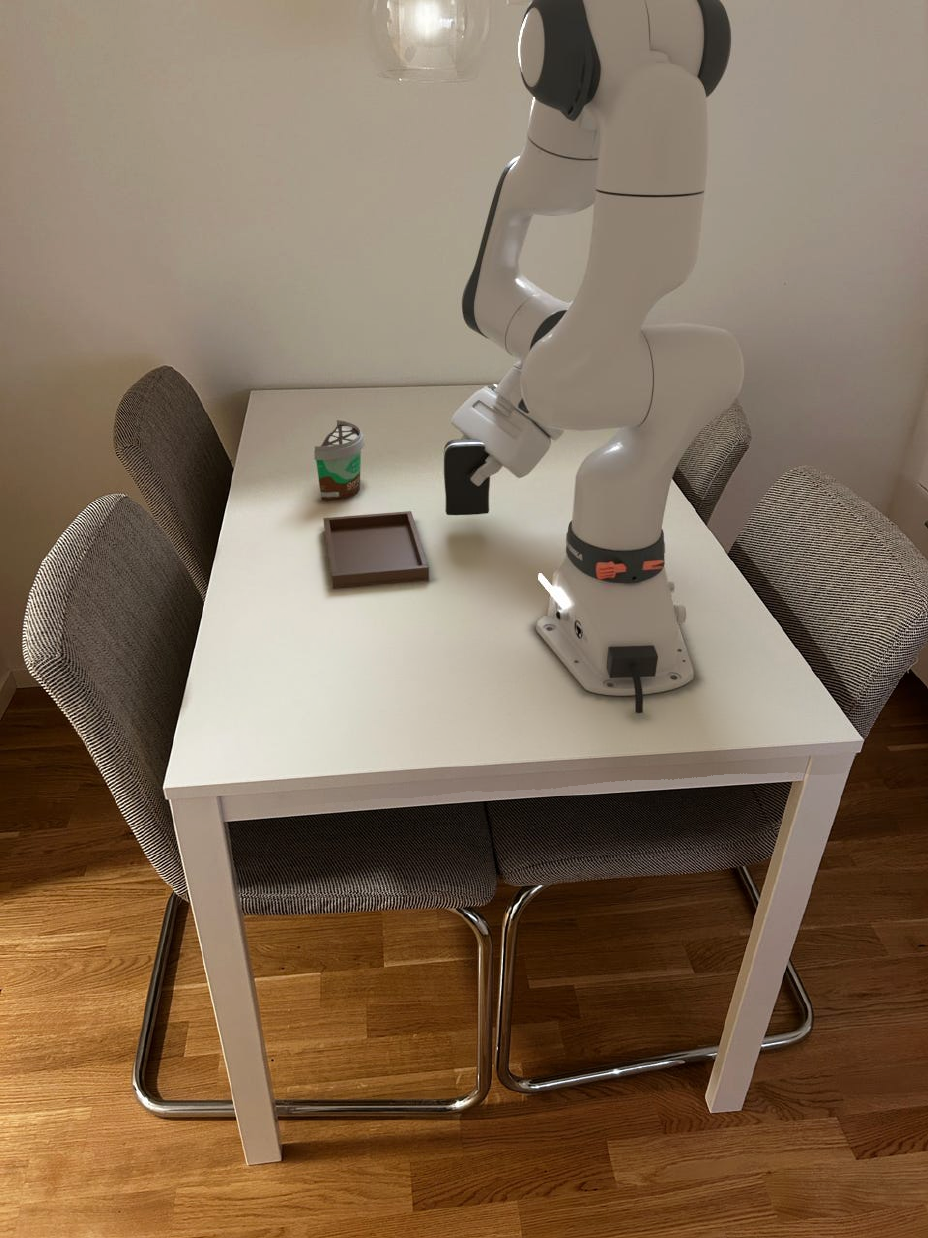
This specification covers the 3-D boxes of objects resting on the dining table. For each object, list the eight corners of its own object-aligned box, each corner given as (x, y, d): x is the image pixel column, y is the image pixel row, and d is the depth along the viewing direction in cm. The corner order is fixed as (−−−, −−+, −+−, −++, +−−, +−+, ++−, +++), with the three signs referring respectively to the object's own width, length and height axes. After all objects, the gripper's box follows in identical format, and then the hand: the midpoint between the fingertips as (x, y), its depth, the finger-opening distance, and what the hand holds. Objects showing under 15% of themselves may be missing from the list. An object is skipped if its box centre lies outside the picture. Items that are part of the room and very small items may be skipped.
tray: (429, 580, 133) (429, 567, 132) (333, 589, 131) (331, 576, 130) (411, 522, 148) (411, 510, 146) (324, 529, 145) (323, 517, 144)
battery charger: (488, 504, 146) (488, 434, 140) (490, 515, 143) (491, 444, 137) (443, 506, 146) (442, 436, 140) (444, 517, 143) (443, 446, 137)
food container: (354, 508, 151) (351, 450, 146) (318, 504, 152) (313, 447, 147) (376, 476, 162) (373, 421, 156) (341, 473, 163) (337, 418, 157)
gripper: (478, 368, 145) (421, 438, 147) (544, 411, 130) (480, 489, 131) (503, 392, 149) (447, 460, 151) (570, 436, 134) (507, 511, 136)
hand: (463, 474), depth 141 cm, fingers closed on battery charger, 5 cm apart
